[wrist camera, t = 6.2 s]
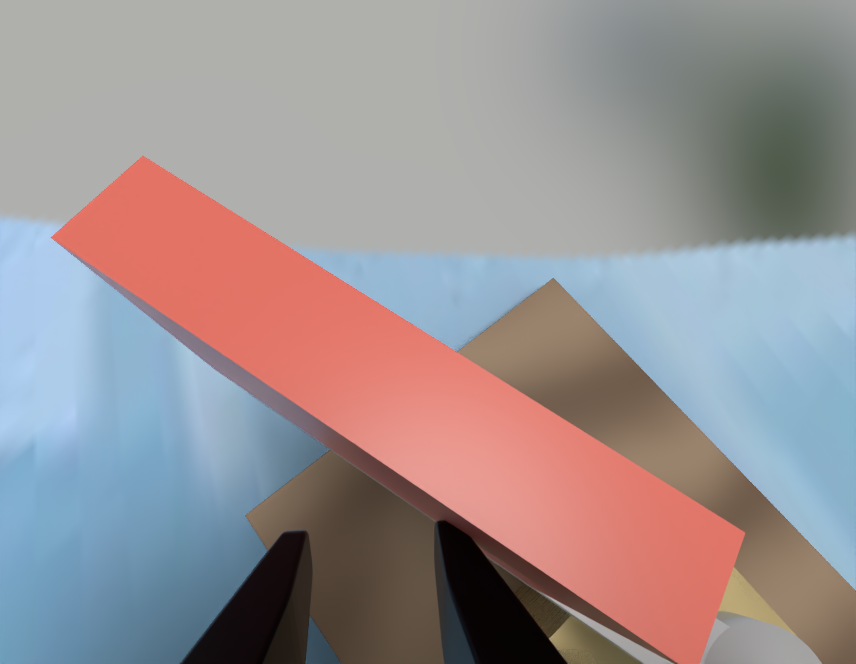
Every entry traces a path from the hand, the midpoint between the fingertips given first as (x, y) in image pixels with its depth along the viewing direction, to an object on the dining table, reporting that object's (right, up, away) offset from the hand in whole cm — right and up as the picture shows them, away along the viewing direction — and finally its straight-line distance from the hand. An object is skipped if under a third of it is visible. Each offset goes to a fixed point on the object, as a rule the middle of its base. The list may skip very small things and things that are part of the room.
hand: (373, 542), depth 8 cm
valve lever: (+3, -1, +3) cm, 4 cm away
